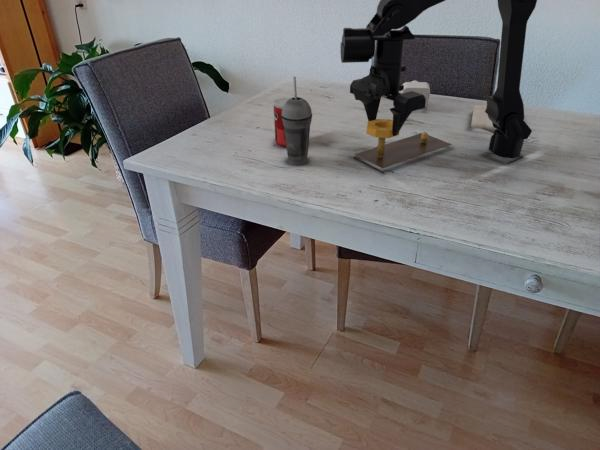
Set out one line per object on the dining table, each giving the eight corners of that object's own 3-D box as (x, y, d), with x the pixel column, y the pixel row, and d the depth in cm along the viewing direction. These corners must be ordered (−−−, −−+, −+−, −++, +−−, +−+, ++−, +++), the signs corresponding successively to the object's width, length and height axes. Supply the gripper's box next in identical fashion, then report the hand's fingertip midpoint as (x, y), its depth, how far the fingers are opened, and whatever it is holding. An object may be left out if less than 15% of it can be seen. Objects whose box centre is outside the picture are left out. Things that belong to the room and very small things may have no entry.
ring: (405, 133, 105) (406, 125, 104) (382, 140, 101) (382, 132, 100) (383, 124, 110) (384, 116, 109) (360, 130, 107) (360, 123, 106)
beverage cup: (286, 169, 107) (283, 83, 96) (279, 157, 113) (276, 75, 102) (316, 165, 109) (316, 80, 98) (307, 153, 114) (307, 72, 104)
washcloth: (514, 115, 136) (517, 105, 134) (515, 136, 122) (518, 125, 120) (473, 111, 139) (475, 101, 138) (469, 131, 125) (471, 120, 124)
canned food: (285, 135, 125) (283, 95, 119) (310, 140, 122) (309, 100, 116) (269, 144, 120) (267, 103, 114) (295, 150, 116) (294, 108, 110)
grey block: (422, 99, 148) (427, 70, 141) (425, 117, 141) (431, 88, 134) (397, 99, 149) (401, 70, 142) (399, 116, 142) (403, 87, 135)
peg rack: (451, 148, 116) (456, 118, 111) (382, 173, 104) (385, 140, 100) (421, 136, 123) (425, 107, 118) (353, 158, 111) (355, 127, 107)
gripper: (332, 58, 100) (331, 126, 108) (392, 76, 87) (385, 151, 95) (370, 51, 105) (366, 117, 114) (432, 67, 92) (422, 139, 101)
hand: (382, 130), depth 106 cm, fingers closed on ring, 7 cm apart
